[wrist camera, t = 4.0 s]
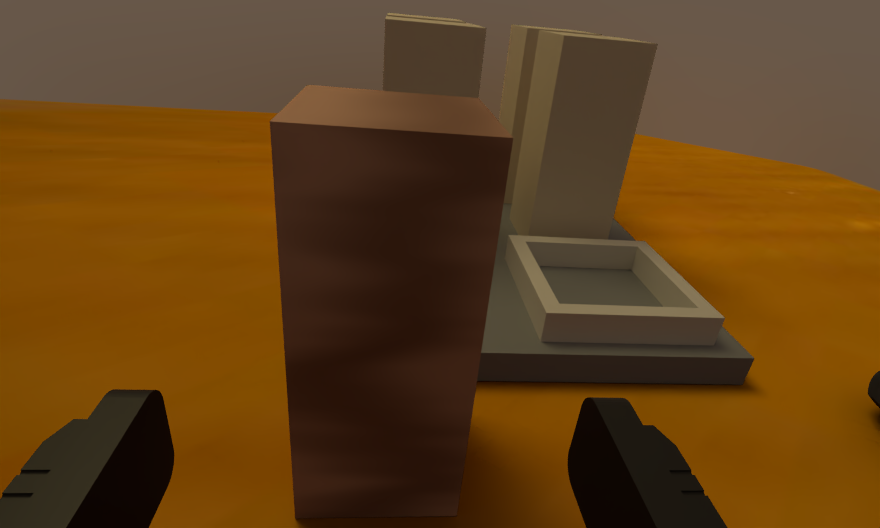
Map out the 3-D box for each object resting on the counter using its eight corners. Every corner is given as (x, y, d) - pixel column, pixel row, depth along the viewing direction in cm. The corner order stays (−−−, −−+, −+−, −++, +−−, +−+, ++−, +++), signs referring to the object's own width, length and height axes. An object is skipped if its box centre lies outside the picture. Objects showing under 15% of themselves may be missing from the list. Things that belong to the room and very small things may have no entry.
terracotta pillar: (295, 518, 16) (270, 120, 10) (316, 404, 20) (307, 84, 15) (456, 516, 16) (513, 137, 11) (443, 405, 21) (478, 98, 15)
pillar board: (321, 378, 21) (312, 24, 15) (357, 190, 43) (359, 10, 37) (742, 384, 23) (882, 75, 17) (576, 202, 45) (613, 33, 39)
